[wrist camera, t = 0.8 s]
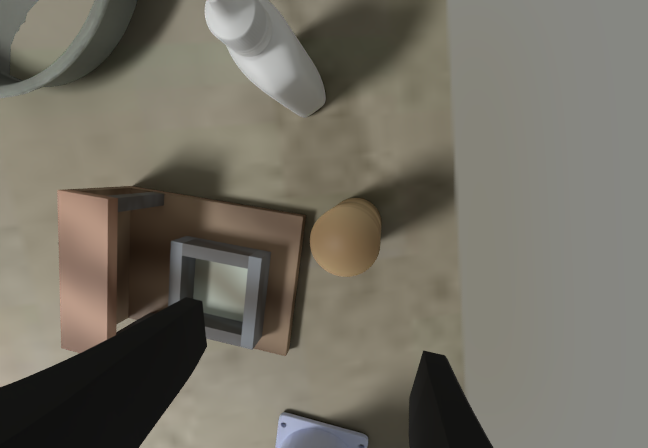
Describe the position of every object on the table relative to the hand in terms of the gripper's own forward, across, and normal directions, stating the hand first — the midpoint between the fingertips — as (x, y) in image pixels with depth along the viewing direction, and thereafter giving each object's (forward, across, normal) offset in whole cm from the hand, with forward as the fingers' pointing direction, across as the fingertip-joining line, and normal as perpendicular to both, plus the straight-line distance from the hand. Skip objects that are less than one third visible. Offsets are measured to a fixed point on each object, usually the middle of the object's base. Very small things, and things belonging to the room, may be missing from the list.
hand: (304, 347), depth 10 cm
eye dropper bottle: (+18, +6, -7) cm, 20 cm away
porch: (+14, +12, +8) cm, 20 cm away
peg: (+15, 0, +2) cm, 15 cm away
